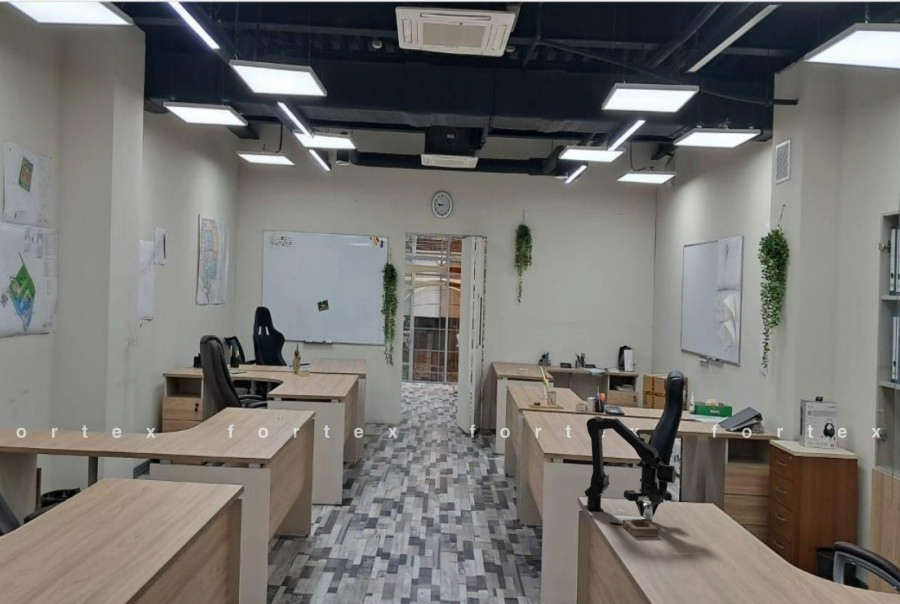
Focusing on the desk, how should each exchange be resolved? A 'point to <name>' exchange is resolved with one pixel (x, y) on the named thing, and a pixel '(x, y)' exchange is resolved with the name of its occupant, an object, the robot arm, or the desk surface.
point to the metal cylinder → (647, 511)
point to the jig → (640, 527)
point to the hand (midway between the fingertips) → (646, 516)
